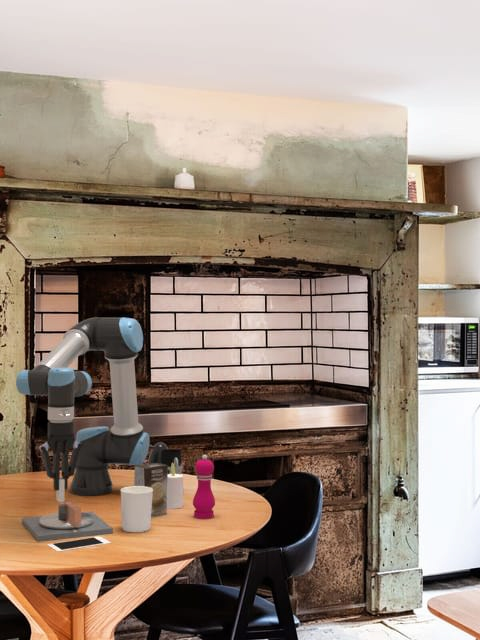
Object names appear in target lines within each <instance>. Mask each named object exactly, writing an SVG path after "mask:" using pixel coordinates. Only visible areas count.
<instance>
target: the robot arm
mask: <svg viewBox="0 0 480 640" xmlns="http://www.w3.org/2000/svg"><path fill="white" fill-rule="evenodd" d="M143 344H144V334H143V330H142V326H141V325H140V323H139V322H138V320H137V319H135V318H130V317H97V316H96V317H90V318H87V319H84V320H82V321H79V322H78V323H76V324H74V325H73V326H72V327H70V328H69V329H68V330H67V331H66V332H64V334H63V337H62V340H61V341H60V342H59V343H58V344H57V345H56V346H55V347H54V348H53V349H51V351H50V352H49V353H48V354H47V355H46V356H44V358H43V359H42V360H41V361H40V362H39V363H38V364H36V366H35V367H33V369H31V370H30V369H26V370H25V369H23V370H20V371H19V372H18V374H17V376H16V379H15V380H16V381H15V385H16V390H17V392H18V393H19V394H21V395H25V396H26V395H28V396H47V399H48V401H47V402H48V403H47V420H48V422H47V438H46V439H45V443H43V444H41V445H39V446H38V450H39V452H41V455H42V460H43V464H44V468H45V474H46V476H47V477H49V478H50V479H53V487H52V488H53V490H54V491H56V497H55V498H56V501H57V502H59V503H61V502H62V503H64V502H65V490H68V486H69V485H68V483H69V482H68V481H69V480H68V479H70V477H72V481H71V483H70V486H69V487H70V489H69V490H70V491H69V492H70V493H71V494H73V495H78V496H102V495H108V494H110V493H112V492H113V483H112V482H113V481H112V479H111V475H110V472H109V465H126V466H127V465H128V466H135V465H143V463H145V461H146V459H147V456H148V453H149V444H150V441H151V440H150V435H149V433H147V432H145V431H144V427H143V425H142V424H141V423H139V413H138V412H139V411H138V401H137V400H138V399H137V397H138V395H137V384H136V383H137V382H136V370H135V369H136V367H135V359H136V358H137V357H138V356H139V352H141V351H142V348H143V346H144V345H143ZM90 351H99V352H101V351H103V352H104V359H106V360H107V361H108V362H109V370H110V371H109V373H110V375H109V376H110V384H111V397H112V398H111V399H112V413H113V414H112V415H113V426H111V428H109V426H93V427H86V428H82V429H79V430H78V431H77V432H76V436H75V422H74V419H75V398H76V397H82V396H84V395H86V394H87V393H88V392H89V391H90V390H91V389H92V387H93V386H92V385H93V381H92V378H91V376H90V374H88V372H86V371H83V370H74V369H73V368H72V367H69V366H71V365H72V363H74V361H75V360H76V359H77V358H78V357H79V356H83V355H84V354H86V353H87V352H90ZM71 448H73V449H72V452H71V455H70V450H71ZM49 449H51V452H52V462H51V458H50V454H49V452H48V451H49ZM69 456H70V460H69ZM60 471H61V475H60ZM60 476H61V477H60Z"/></svg>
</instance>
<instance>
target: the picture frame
mask: <svg viewBox="0 0 480 640" xmlns="http://www.w3.org/2000/svg"><path fill="white" fill-rule="evenodd" d="M172 463H173V464H174V468H175V474H181V475H183V474H182V470H183V469H182V464H183V463H182V450H181V449H175V448H173V449H172V448H171V449H170V448H168V449H165V450H161V463H160V464H165V465H168V474H171V464H172Z"/></svg>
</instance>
